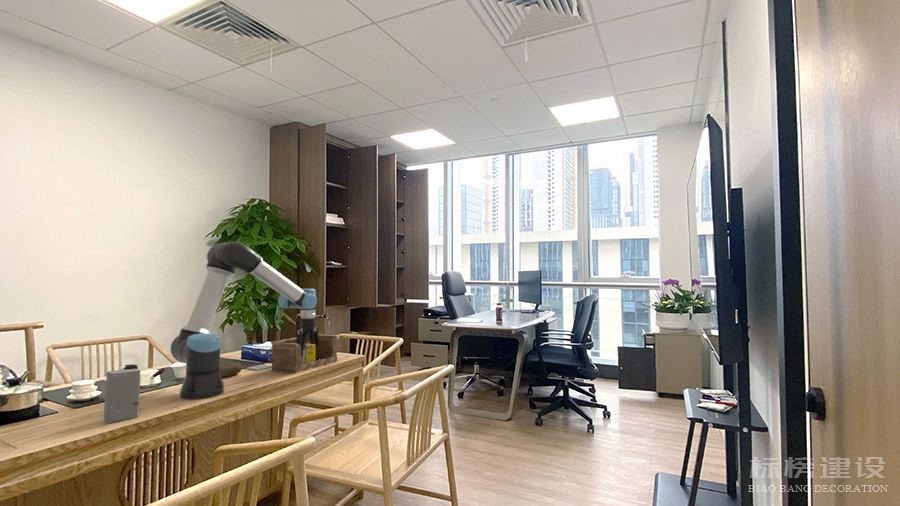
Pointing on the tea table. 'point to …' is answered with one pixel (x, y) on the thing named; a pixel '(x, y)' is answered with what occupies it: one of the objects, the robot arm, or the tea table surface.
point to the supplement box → (309, 353)
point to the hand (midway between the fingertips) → (307, 361)
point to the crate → (289, 354)
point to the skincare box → (121, 395)
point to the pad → (259, 367)
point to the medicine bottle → (129, 368)
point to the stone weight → (229, 369)
